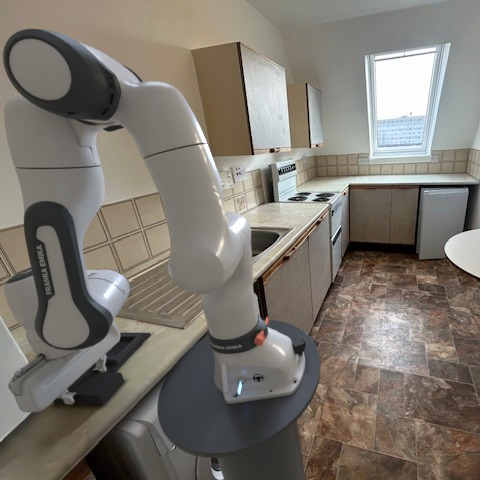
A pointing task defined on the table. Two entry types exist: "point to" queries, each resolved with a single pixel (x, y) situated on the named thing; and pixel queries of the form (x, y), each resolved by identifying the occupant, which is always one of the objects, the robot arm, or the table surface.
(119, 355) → the base pad
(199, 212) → the robot arm
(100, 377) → the black pad
